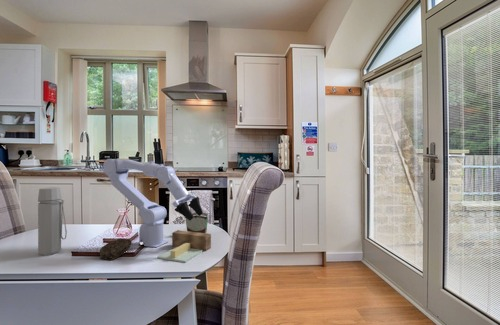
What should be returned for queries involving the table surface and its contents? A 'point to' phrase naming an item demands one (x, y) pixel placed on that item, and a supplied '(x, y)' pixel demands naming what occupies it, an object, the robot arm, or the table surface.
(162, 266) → the table surface
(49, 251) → the water bottle
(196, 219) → the food container
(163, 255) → the ridge stand
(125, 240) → the dark brown rock
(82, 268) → the table surface
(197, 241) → the walnut bar
